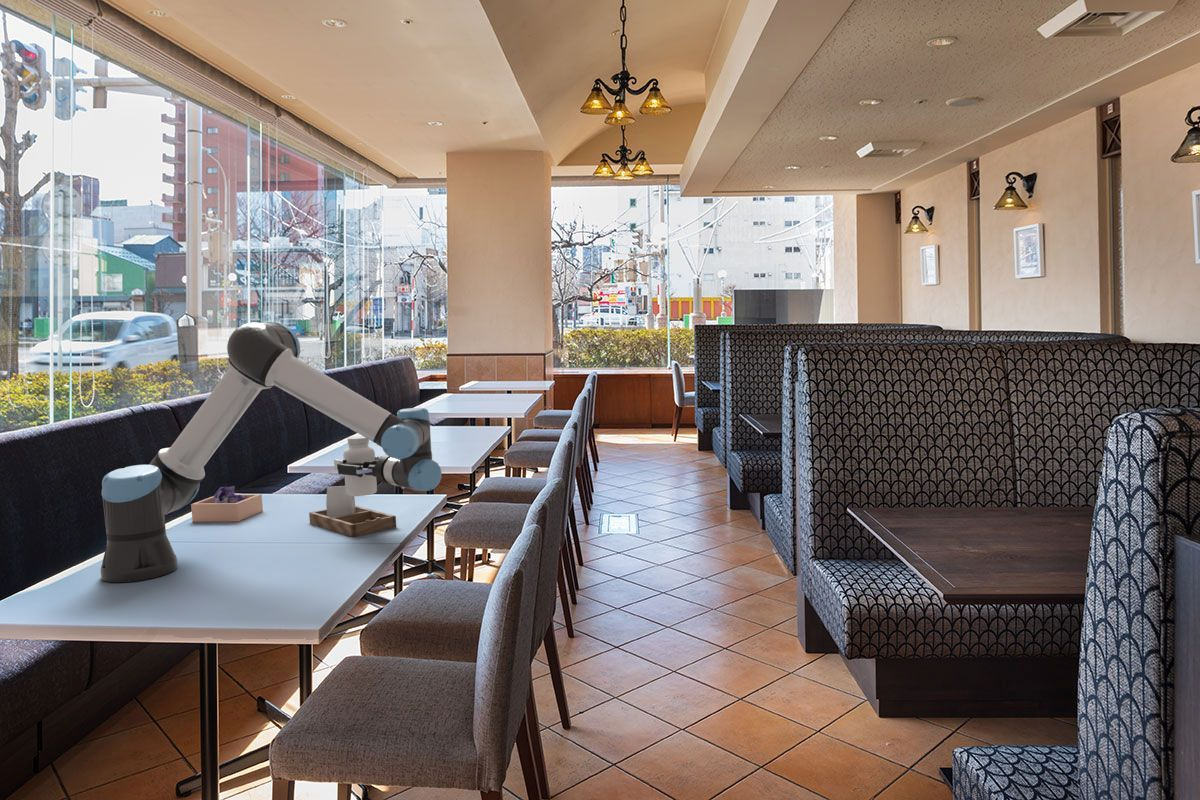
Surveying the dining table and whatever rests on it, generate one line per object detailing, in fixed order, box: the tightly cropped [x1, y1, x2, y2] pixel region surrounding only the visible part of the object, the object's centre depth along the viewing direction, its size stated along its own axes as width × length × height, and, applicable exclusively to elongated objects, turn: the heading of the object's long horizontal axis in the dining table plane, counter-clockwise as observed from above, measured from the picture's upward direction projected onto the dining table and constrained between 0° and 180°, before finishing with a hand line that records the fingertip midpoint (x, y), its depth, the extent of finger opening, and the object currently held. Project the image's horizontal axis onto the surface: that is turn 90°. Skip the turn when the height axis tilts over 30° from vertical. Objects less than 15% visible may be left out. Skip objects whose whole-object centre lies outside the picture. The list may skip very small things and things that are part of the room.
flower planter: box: [190, 493, 264, 523], centre depth 247 cm, size 13×14×5 cm
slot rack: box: [308, 505, 397, 538], centre depth 230 cm, size 24×12×3 cm, turn 44°
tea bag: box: [325, 485, 356, 518], centre depth 234 cm, size 4×7×10 cm, turn 93°
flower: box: [213, 485, 245, 503], centre depth 248 cm, size 9×9×10 cm
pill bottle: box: [342, 435, 378, 497], centre depth 224 cm, size 8×8×15 cm
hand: (350, 462), depth 228 cm, fingers closed on pill bottle, 8 cm apart
